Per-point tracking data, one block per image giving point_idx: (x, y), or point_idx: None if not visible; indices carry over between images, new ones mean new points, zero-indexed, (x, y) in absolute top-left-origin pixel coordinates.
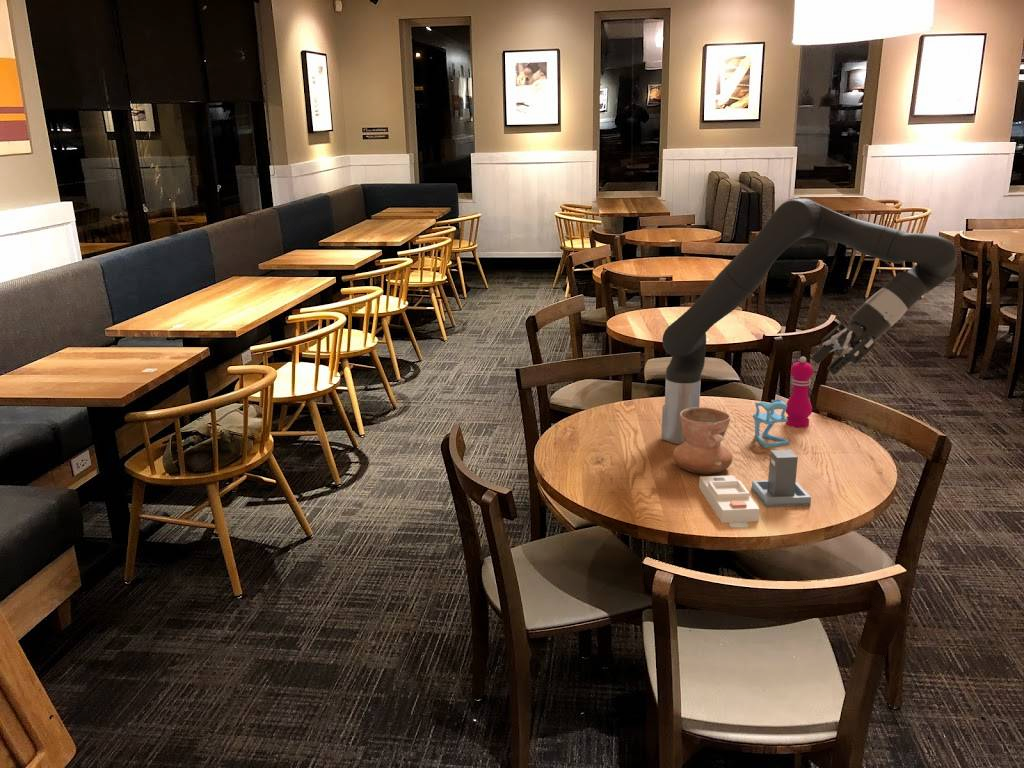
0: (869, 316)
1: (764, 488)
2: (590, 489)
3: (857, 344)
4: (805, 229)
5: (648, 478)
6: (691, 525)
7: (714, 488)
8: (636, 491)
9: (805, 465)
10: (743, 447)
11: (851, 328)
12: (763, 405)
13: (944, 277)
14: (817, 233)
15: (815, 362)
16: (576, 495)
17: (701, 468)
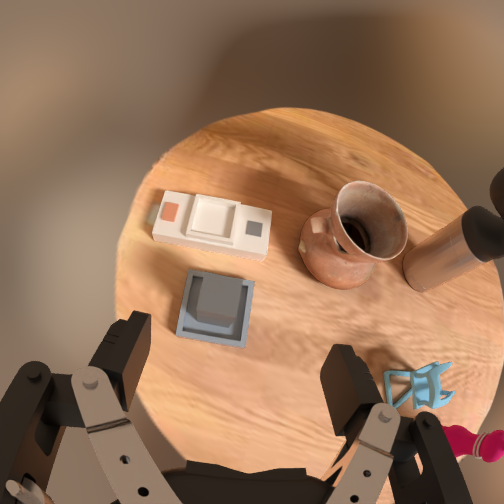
0: None
1: (240, 297)
2: (287, 125)
3: (14, 449)
4: None
5: (307, 180)
6: (174, 169)
7: (215, 198)
8: (274, 156)
9: (315, 405)
10: (389, 341)
11: None
12: (437, 366)
13: None
14: None
15: (326, 363)
16: (275, 112)
17: (302, 228)
